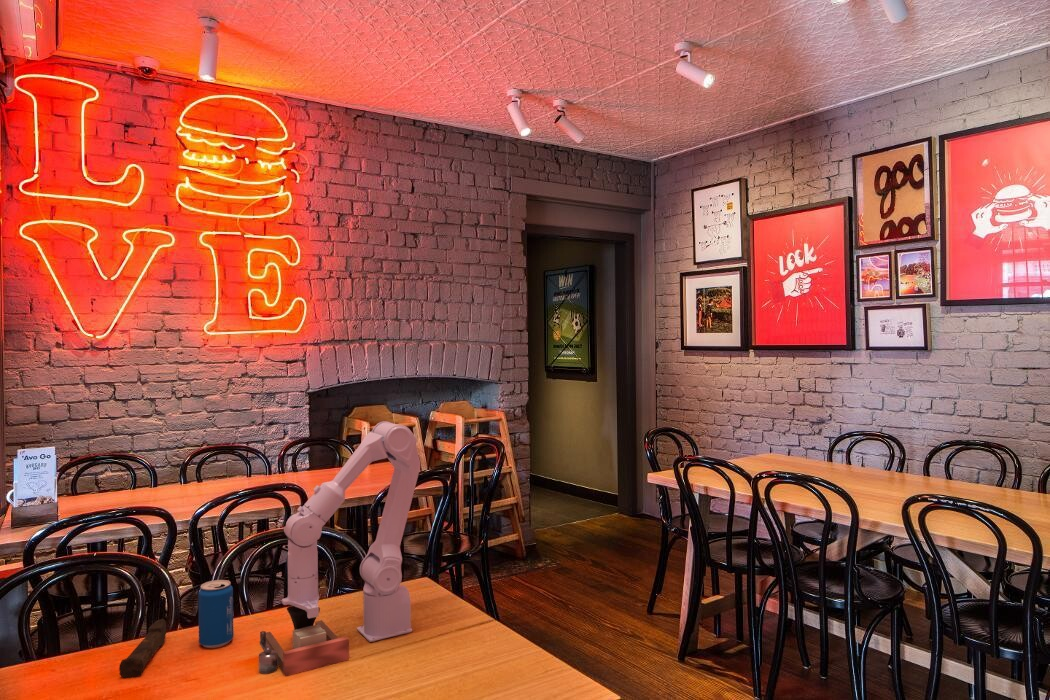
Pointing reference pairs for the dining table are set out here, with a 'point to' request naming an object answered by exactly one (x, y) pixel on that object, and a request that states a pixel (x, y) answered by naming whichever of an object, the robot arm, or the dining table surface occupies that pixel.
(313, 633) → the crate
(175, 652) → the dining table surface
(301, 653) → the bay
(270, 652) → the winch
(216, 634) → the beverage can
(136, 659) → the dark brown rough bar
